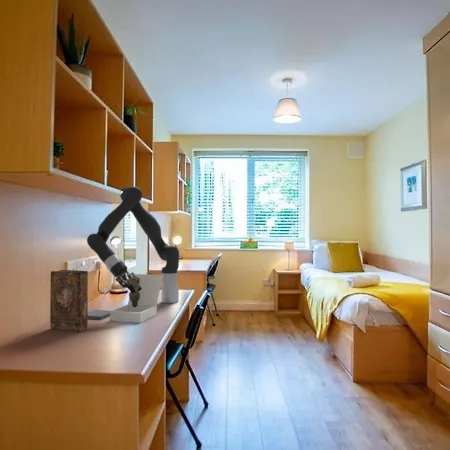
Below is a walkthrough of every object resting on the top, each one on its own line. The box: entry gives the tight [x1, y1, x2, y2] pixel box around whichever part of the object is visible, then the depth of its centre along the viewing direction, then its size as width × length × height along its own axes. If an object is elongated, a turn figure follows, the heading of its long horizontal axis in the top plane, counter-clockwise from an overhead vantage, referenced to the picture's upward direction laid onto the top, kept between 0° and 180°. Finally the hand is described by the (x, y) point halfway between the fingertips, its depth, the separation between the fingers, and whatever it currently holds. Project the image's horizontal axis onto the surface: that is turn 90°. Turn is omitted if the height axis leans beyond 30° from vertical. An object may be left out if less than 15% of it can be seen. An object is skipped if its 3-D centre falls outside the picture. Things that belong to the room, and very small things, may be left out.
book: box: [49, 269, 89, 333], centre depth 156 cm, size 16×6×25 cm, turn 70°
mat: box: [88, 309, 111, 321], centre depth 179 cm, size 12×12×2 cm
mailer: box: [109, 273, 163, 324], centre depth 179 cm, size 23×16×19 cm
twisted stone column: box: [128, 277, 140, 307], centre depth 176 cm, size 6×6×15 cm
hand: (137, 290), depth 176 cm, fingers closed on twisted stone column, 5 cm apart
